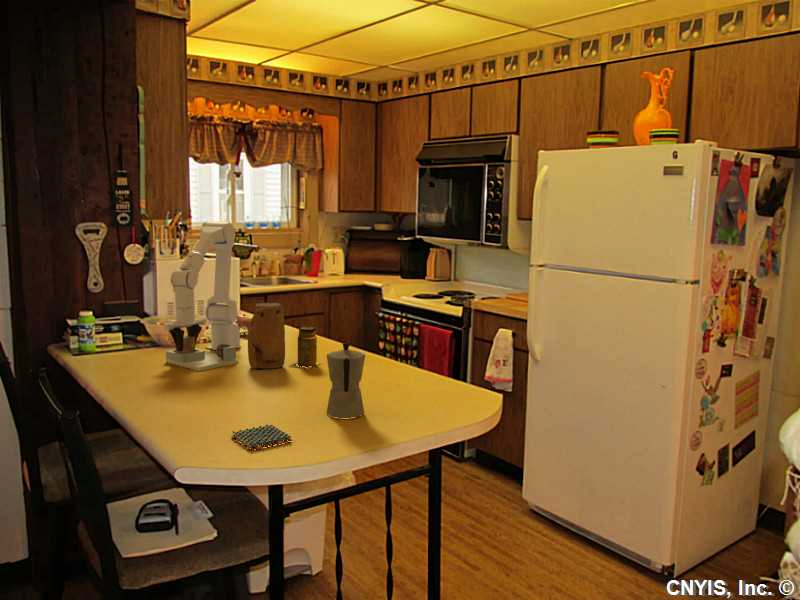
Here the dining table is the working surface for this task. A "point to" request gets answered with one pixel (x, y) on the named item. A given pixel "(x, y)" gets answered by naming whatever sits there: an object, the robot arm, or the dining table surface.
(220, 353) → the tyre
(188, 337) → the walnut block
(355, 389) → the coffeepot
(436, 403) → the dining table surface
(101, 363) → the dining table surface
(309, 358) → the condiment
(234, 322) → the robot arm
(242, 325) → the bull figurine
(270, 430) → the woven mat
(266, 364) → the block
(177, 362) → the chassis
